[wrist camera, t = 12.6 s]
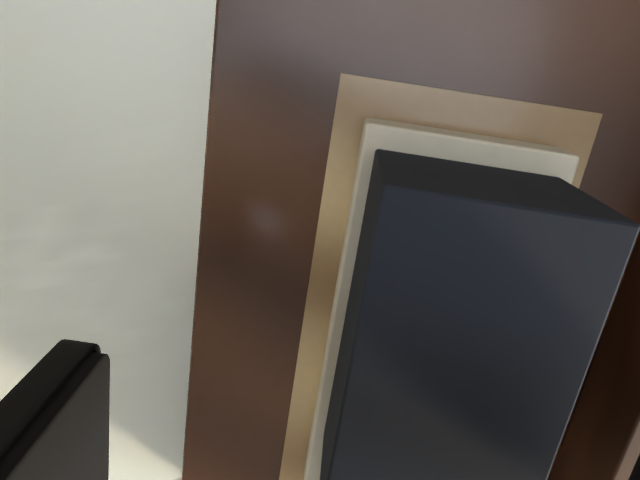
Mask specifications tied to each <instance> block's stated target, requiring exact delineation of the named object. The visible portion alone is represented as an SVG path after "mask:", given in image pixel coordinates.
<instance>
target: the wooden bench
mask: <svg viewBox="0 0 640 480" xmlns="http://www.w3.org/2000/svg"><path fill="white" fill-rule="evenodd" d="M368 117H371V118H377V119H383V120H390V121H396V122H403V123H409V124H415V125H422V126H428V127H434V128H441V129H447V130H454V131H460V132H466V133H473V134H479V135H486V136H492V137H498V138H505V139H511V140H518V141H524V142H530V143H537V144H543V145H549V146H556V147H560V148H562V149H565V150H567V151H569V152H571V153H574V154H576V155H578V156H579V162H578V165H577V169H576V172H575V175H574V178H573V181H572V185H573V186H575V187H576V188H578V189H580V190H582V191H583V192H585V193H587V194H588V195H590V196H592V197H593V198H595V199H597V200H598V201H600V202H602V203H604V204H605V205H607V206H609V207H610V208H612V209H614V210H615V211H617V212H619V213H621V214H622V215H624V216H626V217H627V218H629V219H631V220H632V221H634V222H636V223H637V224H639V225H640V0H217V1H216V15H215V29H214V43H213V56H212V70H211V84H210V98H209V111H208V125H207V139H206V153H205V167H204V180H203V194H202V208H201V222H200V236H199V249H198V263H197V277H196V291H195V304H194V318H193V332H192V346H191V360H190V373H189V387H188V401H187V415H186V429H185V442H184V456H183V470H182V480H303V477H304V469H305V463H306V457H307V451H308V446H309V440H310V434H311V428H312V422H313V416H314V411H315V405H316V399H317V393H318V387H319V381H320V376H321V370H322V364H323V358H324V352H325V346H326V341H327V335H328V329H329V323H330V317H331V311H332V306H333V300H334V294H335V288H336V282H337V276H338V271H339V265H340V259H341V253H342V247H343V241H344V236H345V230H346V224H347V218H348V212H349V206H350V201H351V195H352V189H353V183H354V177H355V171H356V166H357V160H358V154H359V148H360V142H361V136H362V131H363V125H364V120H365V118H368ZM639 454H640V230H639V233H638V236H637V238H636V241H635V244H634V246H633V249H632V252H631V254H630V257H629V260H628V262H627V265H626V268H625V271H624V273H623V276H622V279H621V281H620V284H619V287H618V289H617V292H616V295H615V297H614V300H613V303H612V306H611V308H610V311H609V314H608V316H607V319H606V322H605V324H604V327H603V330H602V332H601V335H600V338H599V341H598V343H597V346H596V349H595V351H594V354H593V357H592V359H591V362H590V365H589V367H588V370H587V373H586V376H585V378H584V381H583V384H582V386H581V389H580V392H579V394H578V397H577V400H576V402H575V405H574V408H573V411H572V413H571V416H570V419H569V421H568V424H567V427H566V429H565V432H564V435H563V437H562V440H561V443H560V446H559V448H558V451H557V454H556V456H555V459H554V462H553V464H552V467H551V470H550V472H549V475H548V478H547V480H628V479H629V477H630V475H631V472H632V470H633V468H634V466H635V463H636V461H637V459H638V456H639Z"/></svg>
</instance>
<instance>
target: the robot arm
mask: <svg viewBox="0 0 640 480" xmlns="http://www.w3.org/2000/svg"><path fill="white" fill-rule="evenodd" d="M109 388H110V359H109V356H108V355H107V354H102V353H101V350H100V347H99V345H97V344H94V343H87V342H80V341H74V340H67V339H64V340H61V341H60V342H58V343H57V344H56V345H55V346H54V347H53V348H52V349H51V350H50V351H49V352H48V353H47V354H46V355H45V356H44V357H43V358H42V359H41V360H40V361H39V362H38V364H37V365H36V366H35V367H34V368H33V369H32V370H31V371H30V372H29V373H28V374H27V375H26V376H25V377H24V378H23V379H22V380H21V381H20V382H19V383H18V384H17V385H16V386H15V387H14V388H13V389H12V390H11V391H10V392H9V393H8V394H7V395H6V396H5V397H4V398H3V399H2V400H1V401H0V480H108V467H109ZM628 480H640V454H639V456H638V459H637V461H636V463H635V466H634V468H633V470H632V472H631V475H630V477H629V479H628Z"/></svg>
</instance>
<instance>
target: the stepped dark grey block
mask: <svg viewBox="0 0 640 480" xmlns="http://www.w3.org/2000/svg"><path fill="white" fill-rule="evenodd" d="M578 162H579V156H578V155H576V154H574V153H571V152H569V151H567V150H565V149H562V148H560V147H556V146H549V145H543V144H537V143H530V142H524V141H518V140H511V139H505V138H498V137H492V136H486V135H479V134H473V133H466V132H460V131H454V130H447V129H441V128H434V127H428V126H422V125H415V124H409V123H403V122H396V121H390V120H383V119H377V118H371V117H368V118H365V120H364V125H363V131H362V136H361V142H360V148H359V154H358V160H357V166H356V171H355V177H354V183H353V189H352V195H351V201H350V206H349V212H348V218H347V224H346V230H345V236H344V241H343V247H342V253H341V259H340V265H339V271H338V276H337V282H336V288H335V294H334V300H333V306H332V311H331V317H330V323H329V329H328V335H327V341H326V346H325V352H324V358H323V364H322V370H321V376H320V381H319V387H318V393H317V399H316V405H315V411H314V416H313V422H312V428H311V434H310V440H309V446H308V451H307V457H306V463H305V469H304V477H303V480H547V478H548V475H549V472H550V470H551V467H552V464H553V462H554V459H555V456H556V454H557V451H558V448H559V446H560V443H561V440H562V437H563V435H564V432H565V429H566V427H567V424H568V421H569V419H570V416H571V413H572V411H573V408H574V405H575V402H576V400H577V397H578V394H579V392H580V389H581V386H582V384H583V381H584V378H585V376H586V373H587V370H588V367H589V365H590V362H591V359H592V357H593V354H594V351H595V349H596V346H597V343H598V341H599V338H600V335H601V332H602V330H603V327H604V324H605V322H606V319H607V316H608V314H609V311H610V308H611V306H612V303H613V300H614V297H615V295H616V292H617V289H618V287H619V284H620V281H621V279H622V276H623V273H624V271H625V268H626V265H627V262H628V260H629V257H630V254H631V252H632V249H633V246H634V244H635V241H636V238H637V236H638V233H639V230H640V225H639V224H637V223H636V222H634V221H632V220H631V219H629V218H627V217H626V216H624V215H622V214H621V213H619V212H617V211H615V210H614V209H612V208H610V207H609V206H607V205H605V204H604V203H602V202H600V201H598V200H597V199H595V198H593V197H592V196H590V195H588V194H587V193H585V192H583V191H582V190H580V189H578V188H576V187H575V186H573V185H572V181H573V178H574V175H575V172H576V169H577V165H578Z"/></svg>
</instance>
